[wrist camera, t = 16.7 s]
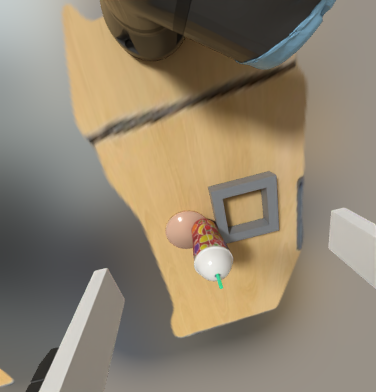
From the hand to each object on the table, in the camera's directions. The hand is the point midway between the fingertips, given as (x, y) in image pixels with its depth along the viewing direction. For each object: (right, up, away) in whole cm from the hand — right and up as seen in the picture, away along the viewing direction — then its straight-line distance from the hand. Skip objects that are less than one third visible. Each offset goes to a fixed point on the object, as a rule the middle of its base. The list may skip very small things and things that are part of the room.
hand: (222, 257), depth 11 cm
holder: (+13, +1, +41) cm, 43 cm away
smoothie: (+2, -5, +42) cm, 43 cm away
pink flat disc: (-2, -6, +42) cm, 43 cm away
